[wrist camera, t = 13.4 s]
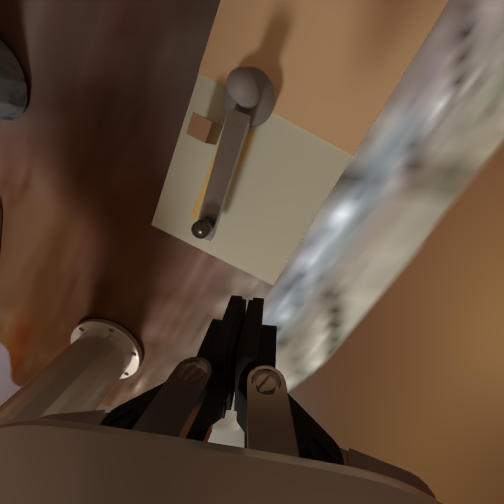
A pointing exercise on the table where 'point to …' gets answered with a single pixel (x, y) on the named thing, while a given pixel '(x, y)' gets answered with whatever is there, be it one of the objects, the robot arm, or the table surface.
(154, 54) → the table surface
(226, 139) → the swing bar
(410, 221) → the table surface
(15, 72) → the moka pot
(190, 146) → the door and jamb board
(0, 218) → the candle holder
